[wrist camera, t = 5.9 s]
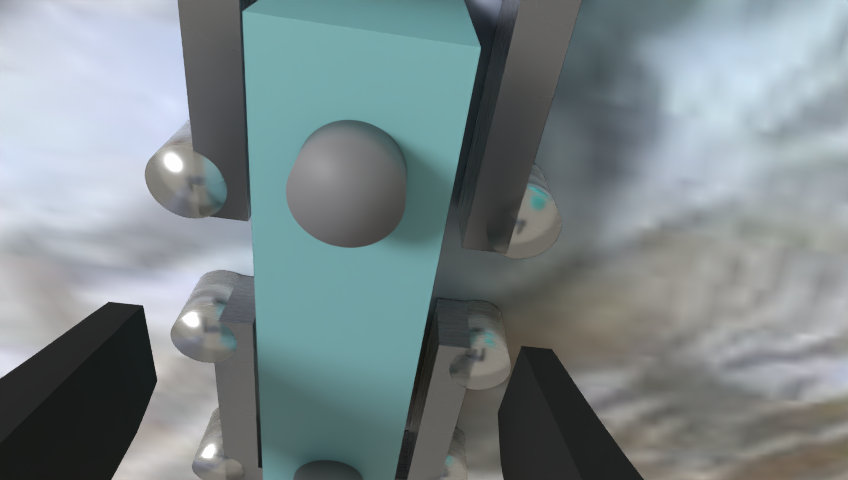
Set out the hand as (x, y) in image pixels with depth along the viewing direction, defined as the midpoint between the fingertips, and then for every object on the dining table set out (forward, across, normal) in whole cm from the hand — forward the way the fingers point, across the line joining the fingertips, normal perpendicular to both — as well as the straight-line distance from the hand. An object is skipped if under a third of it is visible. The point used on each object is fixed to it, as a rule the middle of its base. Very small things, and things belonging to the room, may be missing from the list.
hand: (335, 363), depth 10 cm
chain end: (+4, 0, +5) cm, 6 cm away
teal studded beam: (+4, 0, 0) cm, 4 cm away
